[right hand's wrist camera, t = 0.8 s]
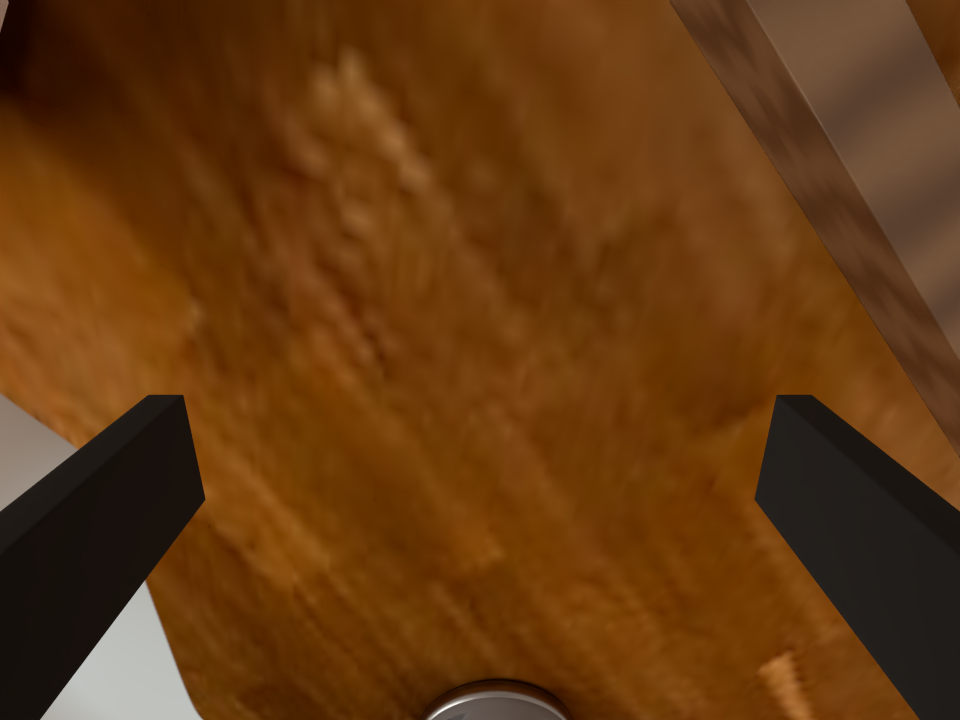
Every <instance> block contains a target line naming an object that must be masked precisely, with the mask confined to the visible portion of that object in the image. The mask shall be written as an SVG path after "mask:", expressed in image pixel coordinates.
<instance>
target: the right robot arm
mask: <svg viewBox="0 0 960 720" xmlns="http://www.w3.org/2000/svg"><path fill="white" fill-rule="evenodd" d="M204 501H205V495H204V490H203V486H202V481H201V476H200V472H199V467H198V462H197V457H196V453H195V448H194V443H193V439H192V434H191V429H190V425H189V420H188V415H187V411H186V406H185V401H184V396H183V395H148V396H146V397H145V398H144V399H143V400H141V401H140V402H139V403H138V404H136V405H135V406H134V407H133V408H131V409H130V410H129V411H127V412H126V413H125V414H124V415H122V416H121V417H120V418H119V419H117V420H116V421H115V422H113V423H112V424H111V425H110V426H108V427H107V428H106V429H105V430H103V431H102V432H101V433H99V434H98V435H97V436H96V437H94V438H93V439H92V440H91V441H89V442H88V443H87V444H86V445H84V446H83V447H82V448H80V449H79V450H78V451H77V452H75V453H74V454H73V455H72V456H70V457H69V458H68V459H66V460H65V461H64V462H63V463H61V464H60V465H59V466H58V467H56V468H55V469H54V470H53V471H51V472H50V473H49V474H47V475H46V476H45V477H44V478H42V479H41V480H40V481H39V482H37V483H36V484H35V485H33V486H32V487H31V488H30V489H28V490H27V491H26V492H25V493H23V494H22V495H21V496H20V497H18V498H17V499H16V500H14V501H13V502H12V503H11V504H9V505H8V506H7V507H5V508H4V509H3V510H2V511H0V720H40V719H41V718H42V716H43V715H44V714H45V712H46V711H47V710H48V708H49V707H50V706H51V704H52V703H53V702H54V700H55V699H56V698H57V696H58V695H59V694H60V692H61V691H62V690H63V688H64V687H65V686H66V684H67V683H68V682H69V680H70V679H71V678H72V676H73V675H74V674H75V672H76V671H77V670H78V668H79V667H80V666H81V664H82V663H83V662H84V660H85V659H86V658H87V656H88V655H89V654H90V652H91V651H92V650H93V648H94V647H95V646H96V644H97V643H98V642H99V640H100V639H101V638H102V637H103V635H104V634H105V633H106V631H107V630H108V629H109V627H110V626H111V625H112V623H113V622H114V621H115V619H116V618H117V617H118V615H119V614H120V612H121V611H122V610H123V609H124V607H125V606H126V605H127V603H128V602H129V601H130V599H131V598H132V597H133V595H134V594H135V593H136V591H137V590H138V589H139V587H140V586H141V585H142V583H143V582H144V581H145V579H146V578H147V577H148V575H149V574H150V573H151V571H152V570H153V569H154V567H155V566H156V565H157V563H158V562H159V561H160V559H161V558H162V557H163V555H164V554H165V553H166V551H167V550H168V549H169V547H170V546H171V545H172V543H173V542H174V541H175V539H176V538H177V537H178V535H179V534H180V533H181V531H182V530H183V529H184V527H185V526H186V525H187V523H188V522H189V521H190V519H191V518H192V517H193V515H194V514H195V513H196V511H197V510H198V509H199V507H200V506H201V505H202V503H203V502H204ZM755 501H756V502H757V503H758V505H759V506H760V507H761V509H762V510H763V511H764V513H765V514H766V515H767V517H768V518H769V519H770V521H771V522H772V523H773V525H774V526H775V527H776V529H777V530H778V531H779V533H780V534H781V535H782V537H783V538H784V539H785V541H786V542H787V543H788V545H789V546H790V547H791V549H792V550H793V551H794V553H795V554H796V555H797V557H798V558H799V559H800V561H801V562H802V563H803V565H804V566H805V567H806V569H807V570H808V571H809V573H810V574H811V575H812V577H813V578H814V579H815V581H816V582H817V583H818V585H819V586H820V587H821V589H822V590H823V591H824V593H825V594H826V595H827V597H828V598H829V599H830V601H831V602H832V603H833V605H834V606H835V607H836V609H837V610H838V611H839V613H840V614H841V615H842V617H843V618H844V619H845V621H846V622H847V623H848V625H849V626H850V627H851V629H852V630H853V631H854V633H855V634H856V635H857V637H858V638H859V639H860V641H861V642H862V643H863V644H864V646H865V647H866V648H867V650H868V651H869V652H870V654H871V655H872V656H873V658H874V659H875V660H876V662H877V663H878V664H879V666H880V667H881V668H882V670H883V671H884V672H885V674H886V675H887V676H888V678H889V679H890V680H891V682H892V683H893V684H894V686H895V687H896V688H897V690H898V691H899V692H900V694H901V695H902V696H903V698H904V699H905V700H906V702H907V703H908V704H909V706H910V707H911V708H912V710H913V711H914V712H915V714H916V715H917V716H918V718H919V719H920V720H960V511H958V510H957V509H956V508H955V507H953V506H952V505H951V504H949V503H948V502H947V501H946V500H944V499H943V498H942V497H941V496H939V495H938V494H937V493H935V492H934V491H933V490H932V489H930V488H929V487H928V486H927V485H925V484H924V483H923V482H921V481H920V480H919V479H918V478H916V477H915V476H914V475H913V474H911V473H910V472H909V471H908V470H906V469H905V468H904V467H902V466H901V465H900V464H899V463H897V462H896V461H895V460H894V459H892V458H891V457H890V456H888V455H887V454H886V453H885V452H883V451H882V450H881V449H880V448H878V447H877V446H876V445H874V444H873V443H872V442H871V441H869V440H868V439H867V438H866V437H864V436H863V435H862V434H861V433H859V432H858V431H857V430H855V429H854V428H853V427H852V426H850V425H849V424H848V423H847V422H845V421H844V420H843V419H841V418H840V417H839V416H838V415H836V414H835V413H834V412H833V411H831V410H830V409H829V408H827V407H826V406H825V405H824V404H822V403H821V402H820V401H819V400H817V399H816V398H815V397H814V396H812V395H777V396H776V401H775V406H774V411H773V415H772V420H771V425H770V429H769V434H768V439H767V443H766V448H765V453H764V457H763V462H762V467H761V472H760V476H759V481H758V486H757V490H756V495H755ZM420 720H572V718H571V716H570V714H569V712H568V711H567V710H566V708H565V707H564V706H563V705H562V704H561V703H560V702H559V701H558V700H557V699H555V698H554V697H553V696H551V695H550V694H548V693H546V692H544V691H542V690H540V689H538V688H535V687H533V686H530V685H526V684H523V683H518V682H512V681H499V680H497V681H481V682H475V683H471V684H466V685H463V686H460V687H457V688H455V689H452V690H450V691H448V692H447V693H445V694H443V695H442V696H440V697H439V698H437V699H436V700H435V701H434V702H432V703H431V704H430V705H429V706H428V708H427V709H426V710H425V711H424V713H423V714H422V716H421V718H420Z"/></svg>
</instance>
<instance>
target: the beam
mask: <svg viewBox="0 0 960 720" xmlns="http://www.w3.org/2000/svg"><path fill="white" fill-rule="evenodd" d="M670 2H671V4H672V6H673V7H674V9H675V10H676V12H677V14H678V15H679V17H680V18H681V20H682V21H683V23H684V25H685V26H686V28H687V29H688V31H689V32H690V34H691V36H692V37H693V39H694V40H695V42H696V43H697V45H698V47H699V48H700V50H701V51H702V53H703V54H704V56H705V58H706V59H707V61H708V62H709V64H710V65H711V67H712V69H713V70H714V72H715V73H716V75H717V76H718V78H719V80H720V81H721V83H722V84H723V86H724V87H725V89H726V91H727V92H728V94H729V95H730V97H731V99H732V100H733V102H734V103H735V105H736V106H737V108H738V110H739V111H740V113H741V114H742V116H743V117H744V119H745V121H746V122H747V124H748V125H749V127H750V128H751V130H752V132H753V133H754V135H755V136H756V138H757V139H758V141H759V143H760V144H761V146H762V147H763V149H764V150H765V152H766V154H767V155H768V157H769V158H770V160H771V161H772V163H773V165H774V166H775V168H776V169H777V171H778V172H779V174H780V176H781V177H782V179H783V180H784V182H785V183H786V185H787V187H788V188H789V190H790V191H791V193H792V194H793V196H794V198H795V199H796V201H797V202H798V204H799V205H800V207H801V209H802V210H803V212H804V213H805V215H806V216H807V218H808V220H809V221H810V223H811V224H812V226H813V227H814V229H815V231H816V232H817V234H818V235H819V237H820V238H821V240H822V242H823V243H824V245H825V246H826V248H827V249H828V251H829V253H830V254H831V256H832V257H833V259H834V260H835V262H836V264H837V265H838V267H839V268H840V270H841V271H842V273H843V275H844V276H845V278H846V279H847V281H848V282H849V284H850V286H851V287H852V289H853V290H854V292H855V293H856V295H857V297H858V298H859V300H860V301H861V303H862V304H863V306H864V308H865V309H866V311H867V312H868V314H869V315H870V317H871V319H872V320H873V322H874V323H875V325H876V326H877V328H878V330H879V331H880V333H881V334H882V336H883V337H884V339H885V341H886V342H887V344H888V345H889V347H890V348H891V350H892V352H893V353H894V355H895V356H896V358H897V359H898V361H899V363H900V364H901V366H902V367H903V369H904V370H905V372H906V374H907V375H908V377H909V378H910V380H911V381H912V383H913V385H914V386H915V388H916V389H917V391H918V392H919V394H920V396H921V397H922V399H923V400H924V402H925V403H926V405H927V407H928V408H929V410H930V411H931V413H932V414H933V416H934V418H935V419H936V421H937V422H938V424H939V425H940V427H941V429H942V430H943V432H944V433H945V435H946V436H947V438H948V440H949V441H950V443H951V444H952V446H953V447H954V449H955V451H956V452H957V454H958V455H959V457H960V108H959V106H958V104H957V102H956V100H955V98H954V96H953V94H952V92H951V90H950V88H949V86H948V84H947V82H946V80H945V78H944V76H943V74H942V72H941V70H940V68H939V66H938V64H937V62H936V60H935V58H934V56H933V54H932V52H931V50H930V48H929V46H928V44H927V42H926V40H925V38H924V36H923V34H922V32H921V30H920V28H919V26H918V24H917V22H916V20H915V18H914V16H913V14H912V12H911V10H910V8H909V6H908V4H907V2H906V0H671V1H670Z"/></svg>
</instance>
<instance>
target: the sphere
mask: <svg viewBox="0 0 960 720" xmlns="http://www.w3.org/2000/svg"><path fill="white" fill-rule="evenodd" d="M8 3H9V2H8V0H0V31H1V27H2V24H3V20H4V17H5V13H6V10H7V7H8Z"/></svg>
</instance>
